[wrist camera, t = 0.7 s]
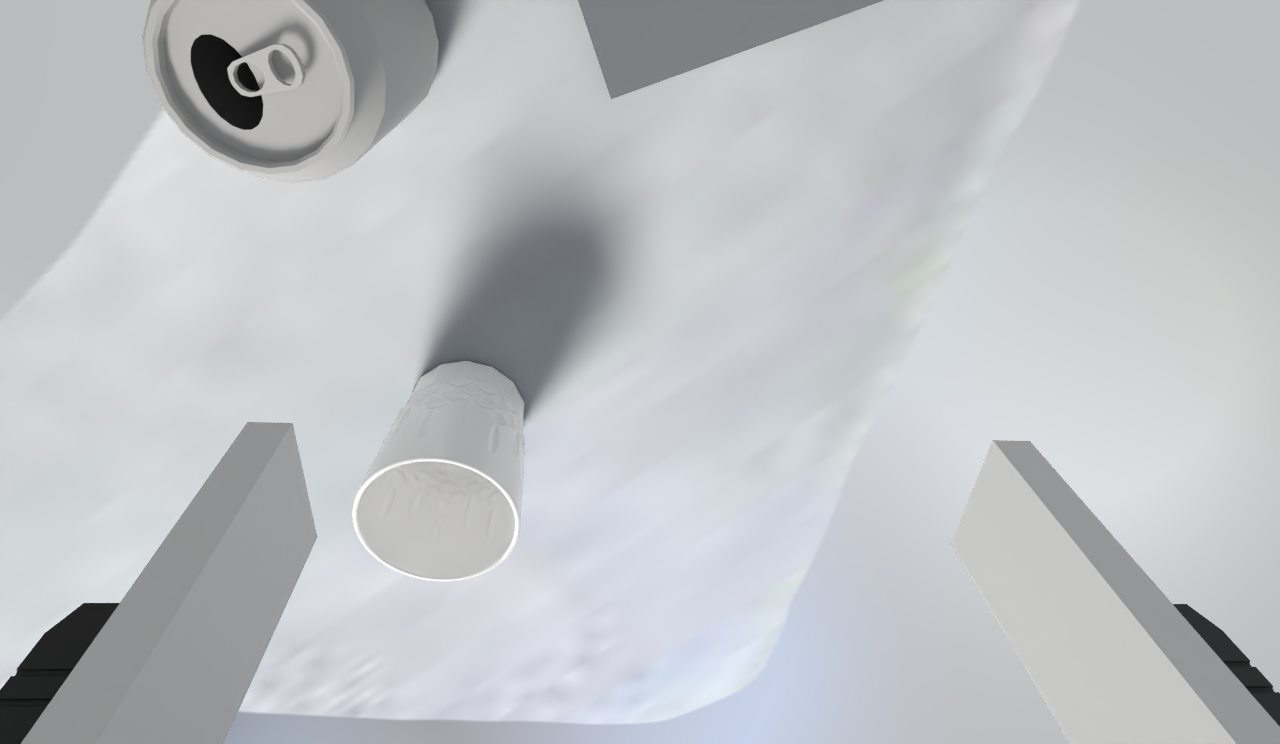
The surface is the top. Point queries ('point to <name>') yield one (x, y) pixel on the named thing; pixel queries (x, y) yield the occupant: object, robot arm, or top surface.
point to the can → (289, 77)
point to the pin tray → (691, 33)
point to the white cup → (447, 477)
